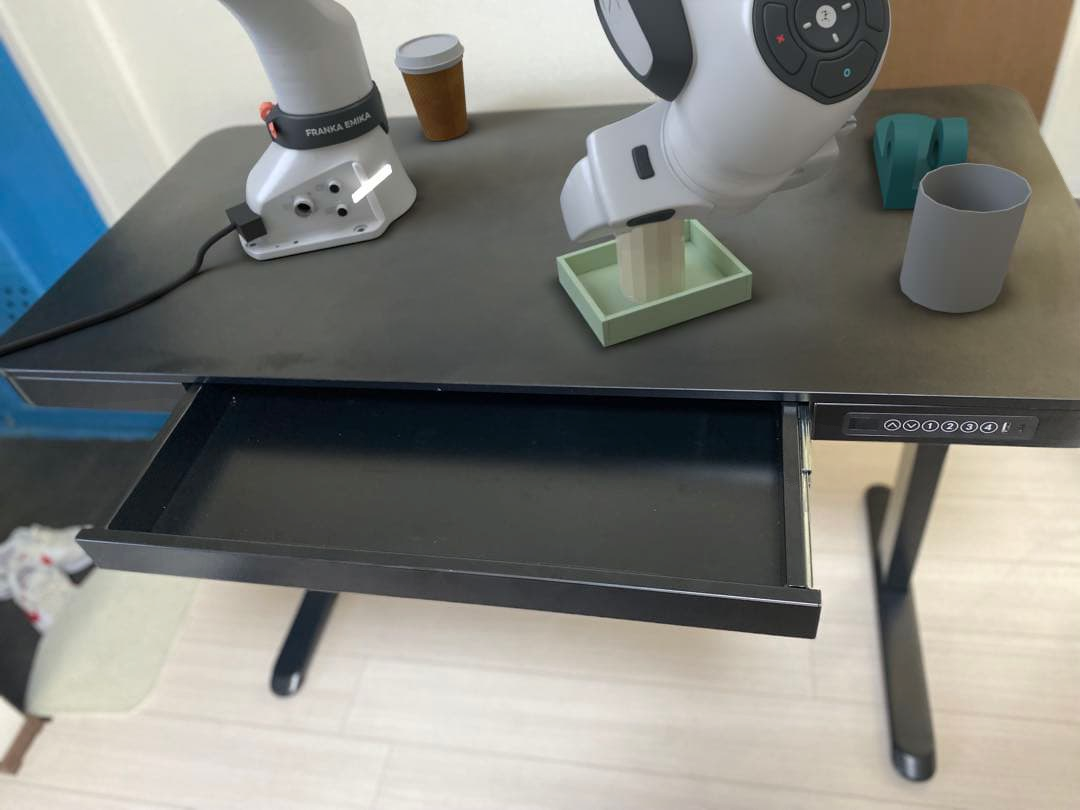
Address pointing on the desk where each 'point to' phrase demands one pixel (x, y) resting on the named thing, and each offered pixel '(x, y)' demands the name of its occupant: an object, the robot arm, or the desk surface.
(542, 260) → the desk surface
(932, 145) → the bracket
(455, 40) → the disposable coffee cup
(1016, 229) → the cup
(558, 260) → the tray
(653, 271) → the tumbler
